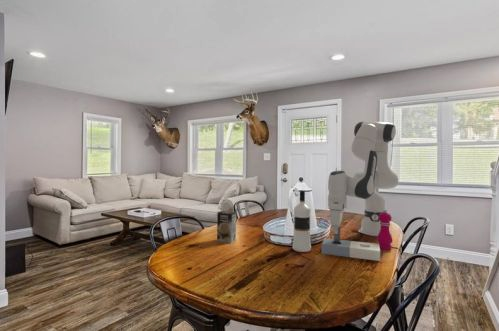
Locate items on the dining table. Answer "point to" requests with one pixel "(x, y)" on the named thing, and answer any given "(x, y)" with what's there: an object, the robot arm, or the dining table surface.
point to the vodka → (302, 226)
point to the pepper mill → (384, 231)
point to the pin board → (351, 249)
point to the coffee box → (226, 226)
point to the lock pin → (337, 236)
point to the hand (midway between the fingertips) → (336, 231)
